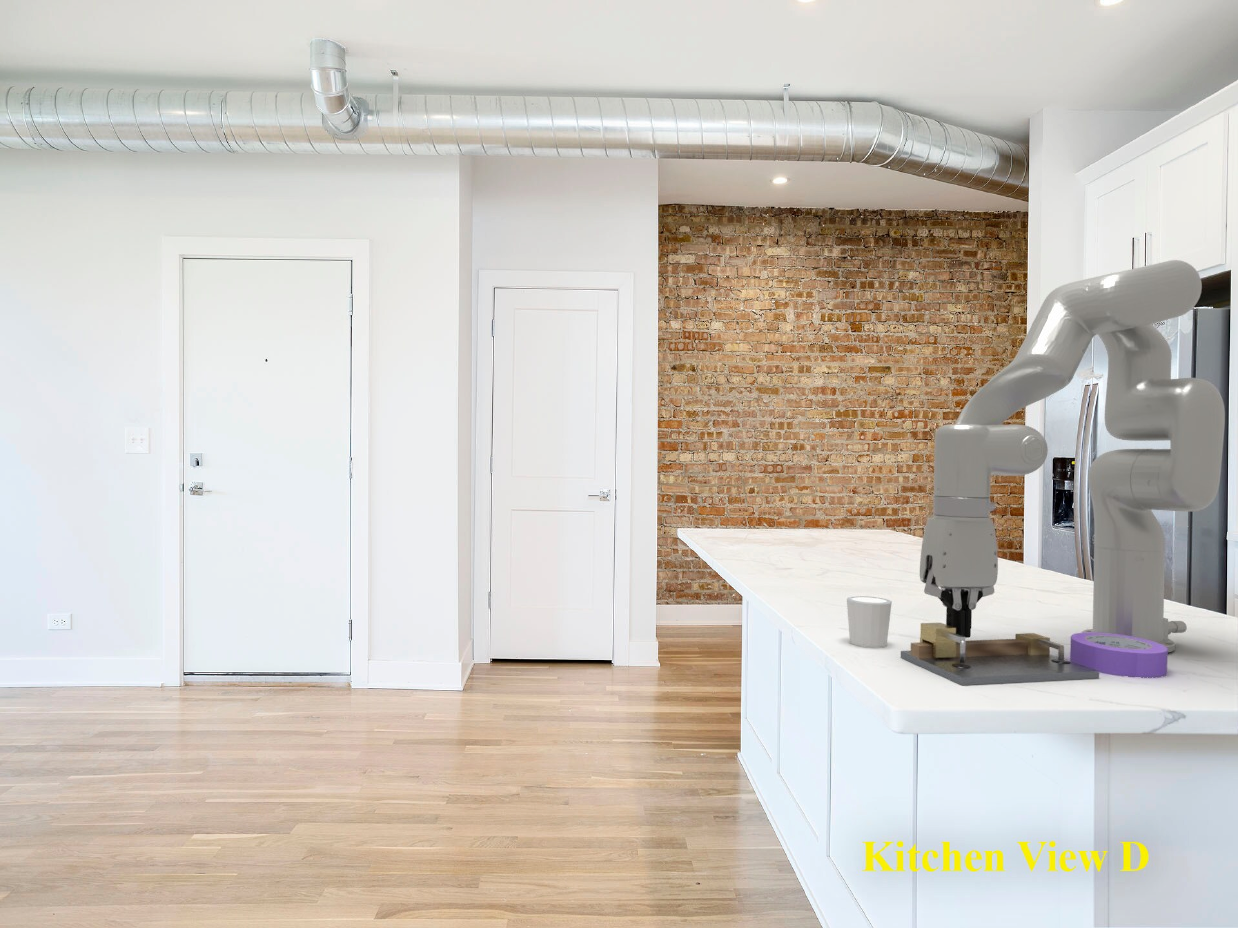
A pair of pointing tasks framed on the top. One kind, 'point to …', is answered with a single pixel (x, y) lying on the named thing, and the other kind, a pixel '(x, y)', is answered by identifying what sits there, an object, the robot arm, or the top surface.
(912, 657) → the plate
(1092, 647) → the masking tape
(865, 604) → the light grey cup
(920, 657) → the trammel beam
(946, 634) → the sliding head
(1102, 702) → the top surface
